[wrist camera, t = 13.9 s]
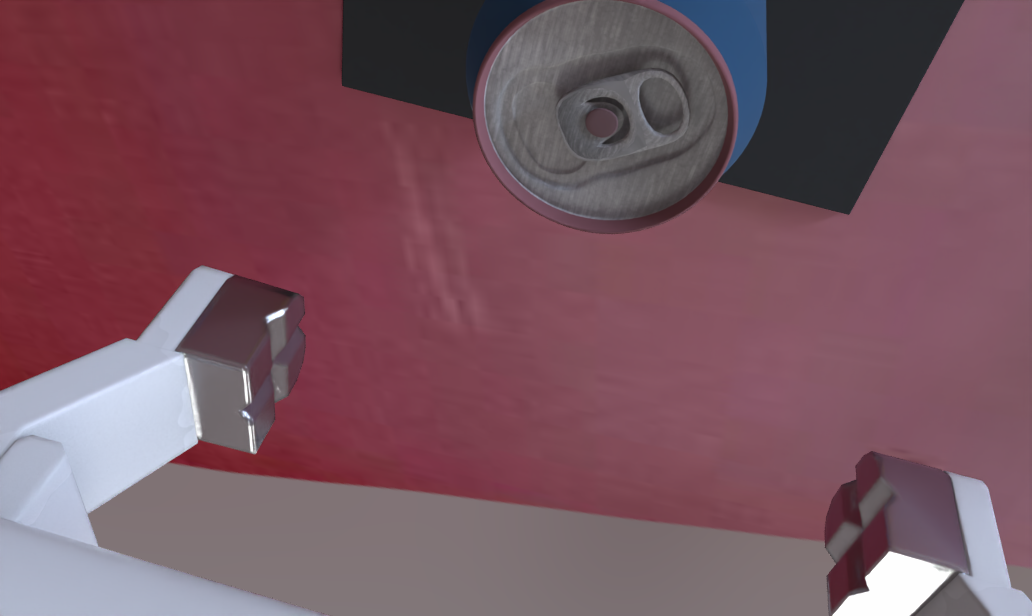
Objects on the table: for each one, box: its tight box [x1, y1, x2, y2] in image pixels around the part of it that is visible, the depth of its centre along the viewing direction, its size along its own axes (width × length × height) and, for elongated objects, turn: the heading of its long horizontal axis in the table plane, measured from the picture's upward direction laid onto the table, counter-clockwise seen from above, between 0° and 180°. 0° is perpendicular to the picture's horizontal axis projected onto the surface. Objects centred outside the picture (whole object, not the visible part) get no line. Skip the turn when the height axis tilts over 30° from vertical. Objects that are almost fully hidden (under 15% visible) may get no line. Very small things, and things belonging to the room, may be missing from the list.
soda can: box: [466, 0, 767, 234], centre depth 23 cm, size 7×7×12 cm
